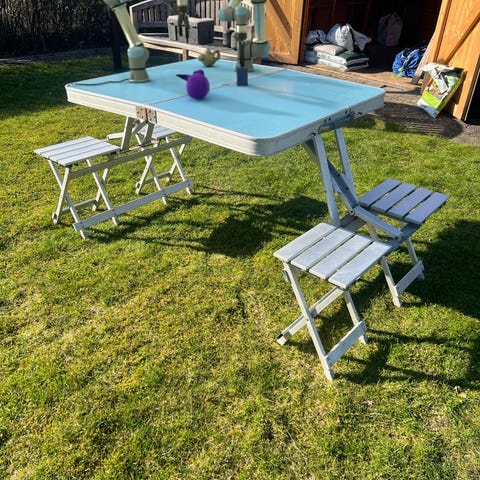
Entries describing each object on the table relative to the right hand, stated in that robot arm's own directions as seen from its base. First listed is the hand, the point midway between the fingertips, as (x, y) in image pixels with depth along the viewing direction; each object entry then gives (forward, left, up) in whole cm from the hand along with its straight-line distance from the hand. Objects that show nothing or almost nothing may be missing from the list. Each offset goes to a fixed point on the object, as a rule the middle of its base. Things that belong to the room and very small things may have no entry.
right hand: (241, 65), depth 313 cm
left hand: (-12, -55, +15) cm, 58 cm away
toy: (+45, -12, -13) cm, 48 cm away
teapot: (-60, -62, -13) cm, 87 cm away
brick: (0, 0, -13) cm, 13 cm away
